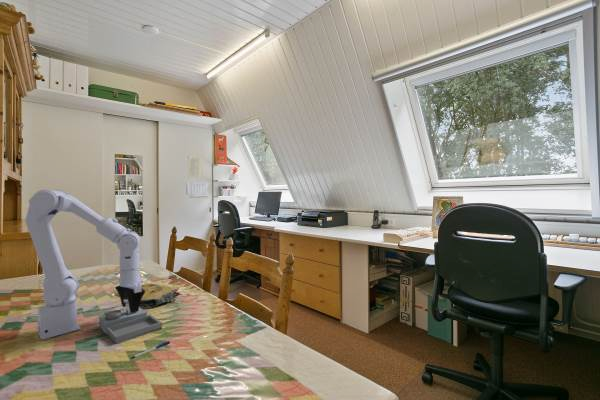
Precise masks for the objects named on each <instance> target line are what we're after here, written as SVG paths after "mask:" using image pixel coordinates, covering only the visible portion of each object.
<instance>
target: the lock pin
mask: <svg viewBox="0 0 600 400" xmlns="http://www.w3.org/2000/svg"><path fill="white" fill-rule="evenodd" d="M124 303H126V306H125V310H126V316H127V315H131V314H134V313H131V312H130V308H129V302H128V299H127V298H125V299H124Z"/></svg>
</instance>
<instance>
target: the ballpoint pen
mask: <svg viewBox="0 0 600 400" xmlns="http://www.w3.org/2000/svg"><path fill="white" fill-rule="evenodd" d="M169 344H171V342H170V340H168V341H164V342H162V343H160V344H158V345H156V346H155V347H154V346H153V347H152V348H150V349H147V350H145V351H142V352H140V353H138V354H134V355H133V356H132V357H130V359H131V360H132V359H136V358H138V357H140V356H143V355H145V354H147V353H150V352H152V351H155V350H157V349H160V348H162V347H165V346H167V345H169Z"/></svg>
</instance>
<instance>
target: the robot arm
mask: <svg viewBox="0 0 600 400" xmlns="http://www.w3.org/2000/svg"><path fill="white" fill-rule="evenodd" d="M28 204H29V206H28V208H27V213H26V215H25V224H26V228H27V230H28V233H29V235H30V238H31V241H32V245H33V246H34V248H35V252H36V254H37V258H38V260H39V262H40V266H41V268H42V271H43V275H44V277H43V282H42V286H43V294H42V299H43V301H44V303H46V304H44V305H41V306H39V307H37V328H36V329H37V334H38V336H39V338H40V340H41V341H42V340H47V339H50V338H54V337H58V336H60V335H65V334H68V333H71V332H75V331H78V330H81V328H82V327H81V326H80V325H79V323H78V322H77V321H78V320H77V319H78V317H77V316H78V314H77V311H78V310H77V303H78V302H77V296H76V293H77V292H78V290H79V288H80V284H79V281H78V280H77V278H75V277H74V276H73V273H72V272H71V271H70V270H69V269H68V268H67V266H66V265H65V261H64V258H63V256H62V253H61V250H60V247H59V244H58V241H57V238H56V236H55V233H54V231H53V227H52V225H51V224H52V223H51V221H52V219H54V217H55V216H56V215H57V213H59V212H66V213H67V212H68V213H73V215H76V216H78V217H80V218H81V219H83V220H84V221H86V222H88V223H90V224H92V225H93V226H94V227H95V228H96V232H97V233H98V234H99V235H101V236H103V238H106V239H107V240H109V241H110V242H112V243H113V244H116V245H117V248H118V249H119V279H118V280H119V285H117V286H115V287H114V288H115V290H116V291H117V293H118V296H119V298H120V303H121V306H122V308H126V303H124V299H125V298H127V299H128V302H129V308H130V312H131V313H134V312H138V310H139V306H140V302H141V299H142V297H143V295H144V293H145V290H144V289H142V290H141V285H142V284H141V283H143V282H144V279H143V278H141V277H140V253H139V252H140V249H139V245H140V243H141V237H140V235H139V234H138V233H137V232H136V231H131V229H130V228H127V227H125V226H124V225H122V224H120V223H119V220H118V219H117V218H111V217H107V218H104V217H103V216H101V215H100V214H98V213H97V212H96V211H94V210H92V209H91V208H90V207H88V206H87V205H86V204H84V203H83V202H81V201H80V200H79V199H78V198H76V197H75V196H74V195H71V194H68V193H67V192H66V191H64V190H63V189H62V190H60V189H56V190H55V189H53V190H49V189H41V190H39V191H36V193H34V194H33V196H31V198H30V199H28Z"/></svg>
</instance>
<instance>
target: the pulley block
mask: <svg viewBox="0 0 600 400" xmlns="http://www.w3.org/2000/svg"><path fill="white" fill-rule="evenodd" d="M140 285H141V290H142V289H144V290H145V293H144V295H143V297H142V299H141V302H140V306H139V307H140V308H149V309H152V308H154V307H156V306H158V305H162V304H164V303H169V302H171V301H172V300H174V299H175V298H176V297H178V296H183V295H182V293H180V292H179V291H178V289H174V288H173V287H172V286H170V285H163V284H155V283H144V284H140ZM177 291H178V292H177Z"/></svg>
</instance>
